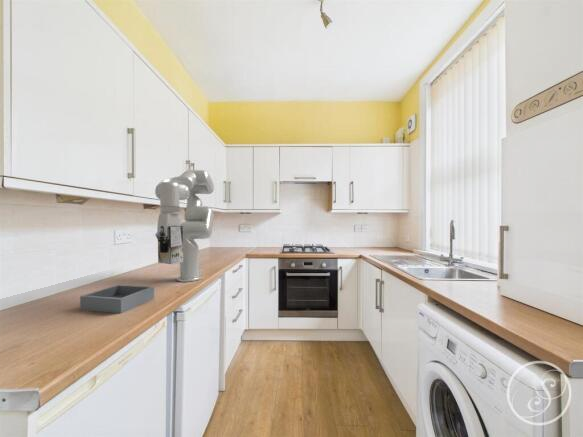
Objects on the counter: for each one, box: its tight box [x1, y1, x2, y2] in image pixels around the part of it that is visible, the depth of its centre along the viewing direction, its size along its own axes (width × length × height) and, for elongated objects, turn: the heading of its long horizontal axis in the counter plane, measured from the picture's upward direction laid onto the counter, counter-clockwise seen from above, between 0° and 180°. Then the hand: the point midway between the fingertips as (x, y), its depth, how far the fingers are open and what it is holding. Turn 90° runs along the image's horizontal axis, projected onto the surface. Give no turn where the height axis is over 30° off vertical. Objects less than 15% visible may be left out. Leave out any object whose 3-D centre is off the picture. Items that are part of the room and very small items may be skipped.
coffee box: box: [157, 226, 183, 265], centre depth 108 cm, size 9×6×16 cm
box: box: [79, 284, 155, 314], centre depth 98 cm, size 16×18×5 cm
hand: (170, 250), depth 108 cm, fingers closed on coffee box, 7 cm apart
